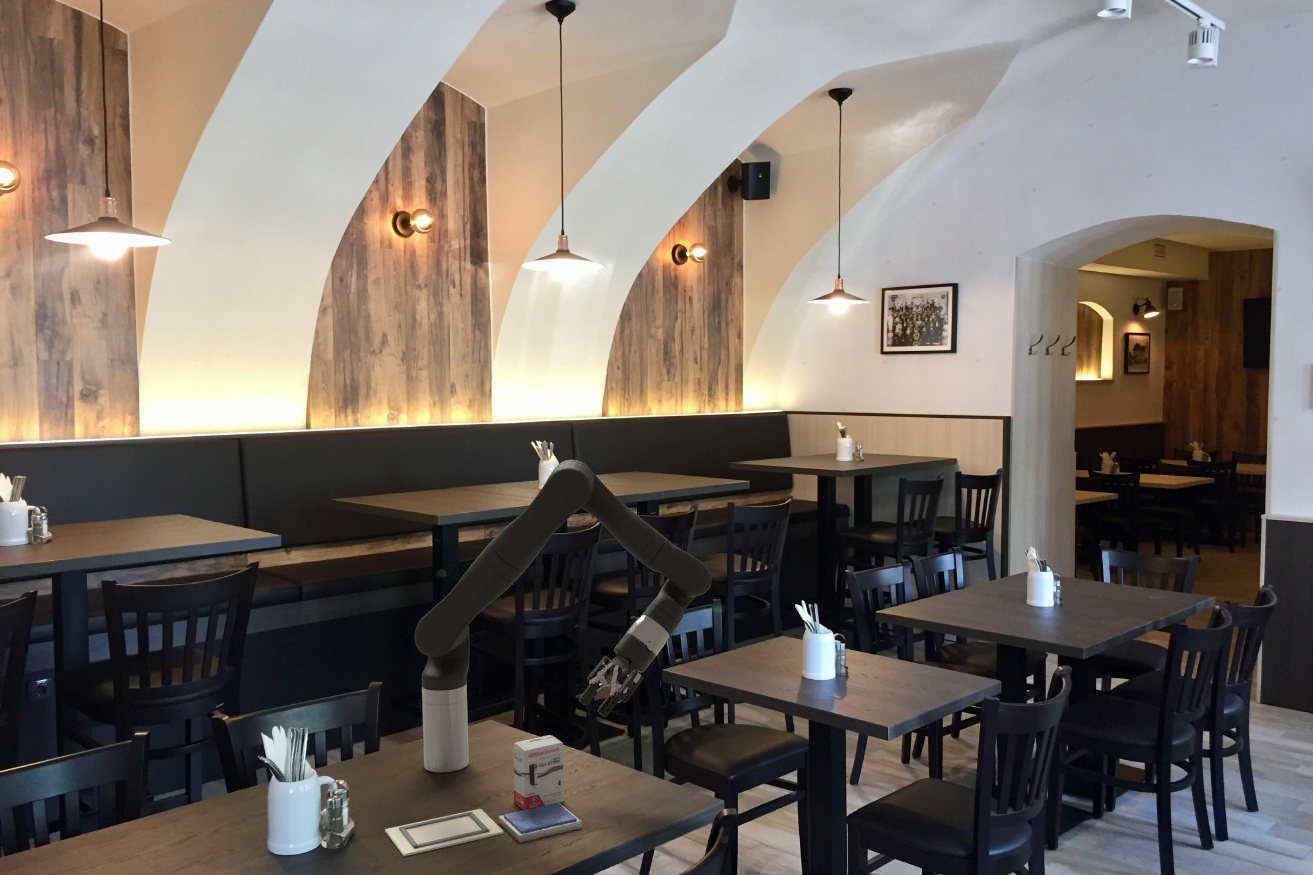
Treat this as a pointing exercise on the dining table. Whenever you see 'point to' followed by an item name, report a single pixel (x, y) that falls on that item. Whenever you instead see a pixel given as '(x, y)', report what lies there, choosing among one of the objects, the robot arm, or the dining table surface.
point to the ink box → (538, 772)
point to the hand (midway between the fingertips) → (591, 708)
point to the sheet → (443, 832)
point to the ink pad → (539, 822)
